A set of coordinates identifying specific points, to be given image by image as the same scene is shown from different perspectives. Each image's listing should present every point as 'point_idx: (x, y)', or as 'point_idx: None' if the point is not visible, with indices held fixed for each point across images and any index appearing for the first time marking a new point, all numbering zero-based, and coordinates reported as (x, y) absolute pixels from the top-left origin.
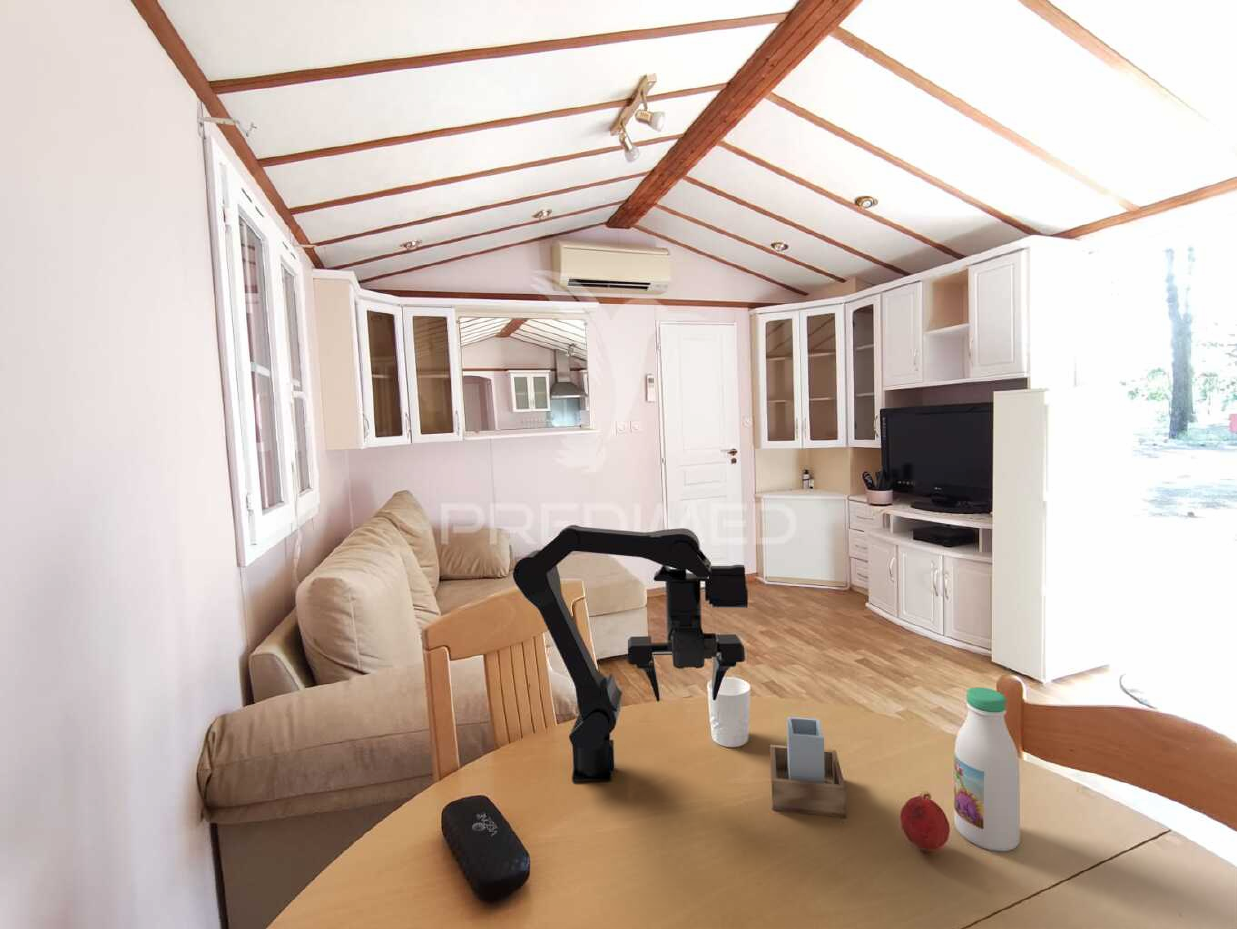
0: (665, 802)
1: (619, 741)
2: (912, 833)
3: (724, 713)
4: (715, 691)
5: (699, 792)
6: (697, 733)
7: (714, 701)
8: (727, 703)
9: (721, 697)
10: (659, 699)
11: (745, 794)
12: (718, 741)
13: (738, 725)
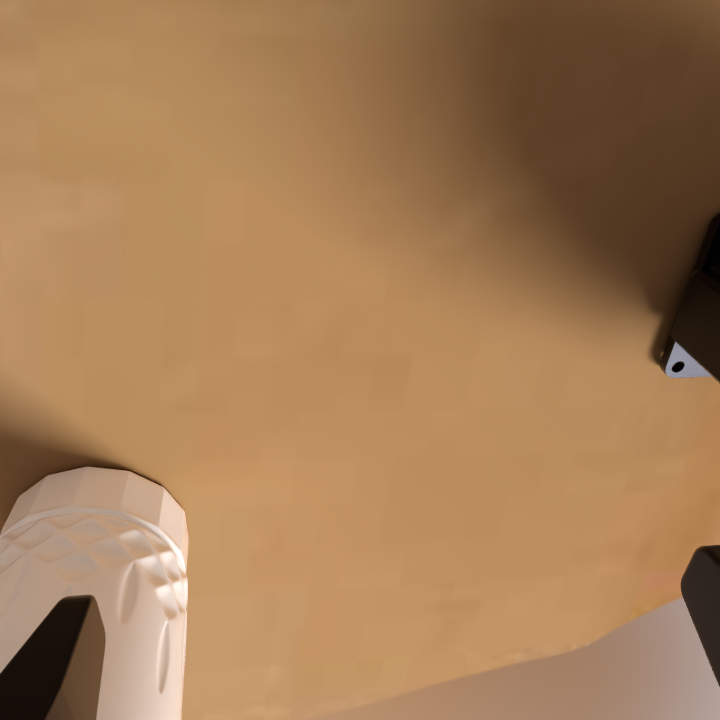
0: (489, 9)
1: (586, 489)
2: None
3: None
4: (21, 700)
5: (285, 98)
6: (250, 549)
7: (139, 680)
8: None
9: None
10: (714, 561)
11: (7, 61)
12: (155, 492)
13: (21, 551)
